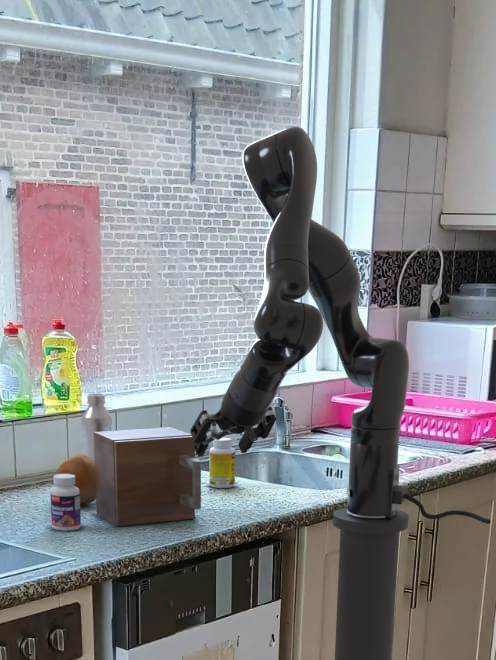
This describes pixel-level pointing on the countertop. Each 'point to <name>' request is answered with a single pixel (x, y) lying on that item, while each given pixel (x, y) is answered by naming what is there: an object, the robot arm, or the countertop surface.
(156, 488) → the door
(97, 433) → the cabinet
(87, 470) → the onion
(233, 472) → the supplement bottle
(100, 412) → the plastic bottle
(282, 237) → the robot arm
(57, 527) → the pill bottle
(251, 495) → the countertop surface
